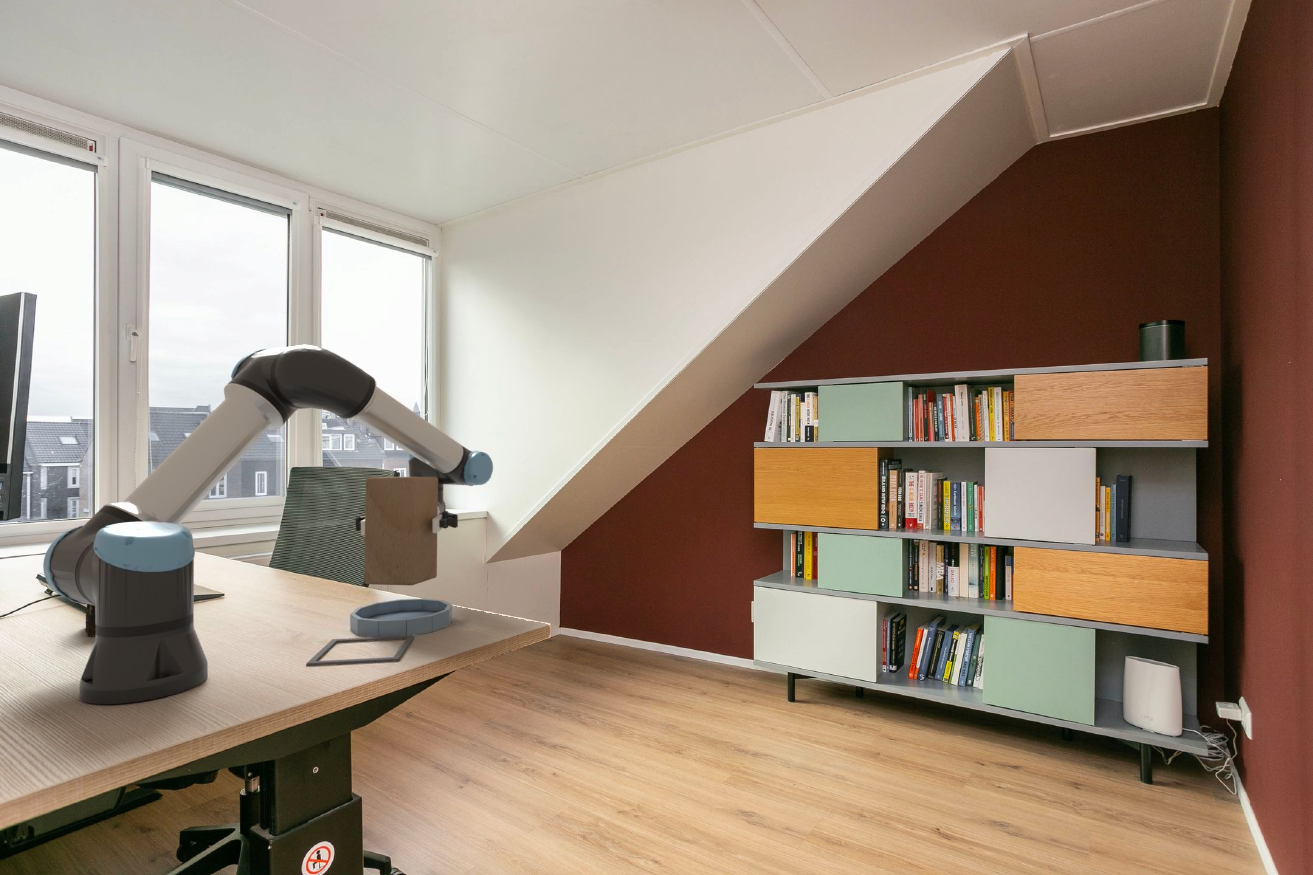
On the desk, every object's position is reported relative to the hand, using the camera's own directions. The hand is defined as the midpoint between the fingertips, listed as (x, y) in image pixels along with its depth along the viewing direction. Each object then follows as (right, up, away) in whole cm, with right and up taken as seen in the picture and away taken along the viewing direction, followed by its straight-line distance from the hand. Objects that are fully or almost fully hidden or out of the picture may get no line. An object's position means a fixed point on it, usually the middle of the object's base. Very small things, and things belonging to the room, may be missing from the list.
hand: (399, 527), depth 135 cm
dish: (-1, -19, +3) cm, 20 cm away
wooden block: (0, -11, +3) cm, 11 cm away
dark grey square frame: (-1, -19, -14) cm, 24 cm away
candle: (-55, -20, +3) cm, 59 cm away
